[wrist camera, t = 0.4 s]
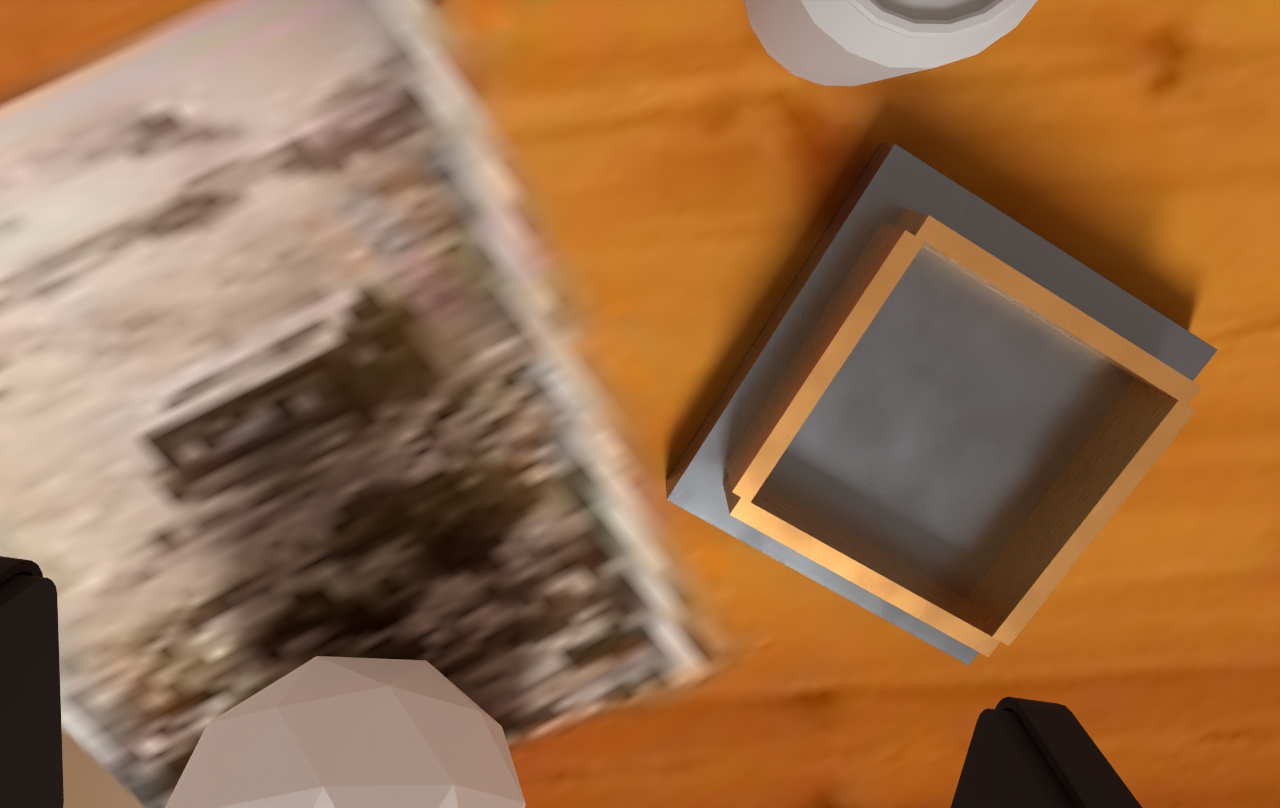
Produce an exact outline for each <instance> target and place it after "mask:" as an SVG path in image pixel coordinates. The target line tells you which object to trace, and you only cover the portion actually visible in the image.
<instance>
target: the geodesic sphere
mask: <svg viewBox="0 0 1280 808" xmlns="http://www.w3.org/2000/svg"><path fill="white" fill-rule="evenodd" d="M165 808H525V800H524V797H523V794H522V790H521V787H520V784H519V781H518V777H517V774H516V771H515V768H514V764H513V761H512V758H511V755H510V751H509V748H508V745H507V742H506V738H505V735H504V732H503V728H502V726H501V725H500V724H499V723H497V722H496V721H495V720H494V719H493V718H492V717H491V716H489V715H488V714H487V713H486V712H485V711H484V710H483V709H481V708H480V707H479V706H478V705H477V704H476V703H475V702H473V701H472V700H471V699H470V698H469V697H468V696H467V695H465V694H464V693H463V692H462V691H461V690H460V689H459V688H457V687H456V686H455V685H454V684H453V683H452V682H451V681H449V680H448V679H447V678H446V677H445V676H444V675H443V674H441V673H440V672H439V671H438V670H437V669H436V668H435V667H433V666H432V665H431V664H430V663H429V662H428V661H426V660H402V659H377V658H352V657H328V656H316V657H315V658H313V659H311V660H310V661H308V662H306V663H305V664H303V665H302V666H300V667H298V668H297V669H295V670H293V671H292V672H290V673H289V674H287V675H285V676H284V677H282V678H280V679H279V680H277V681H276V682H274V683H272V684H271V685H269V686H267V687H266V688H264V689H263V690H261V691H259V692H258V693H256V694H254V695H253V696H251V697H250V698H248V699H246V700H245V701H243V702H242V703H240V704H238V705H237V706H235V707H233V708H232V709H230V710H229V711H227V712H225V713H224V714H222V715H220V716H219V717H217V718H216V719H214V720H212V721H211V722H209V723H208V724H207V726H206V728H205V730H204V732H203V734H202V736H201V738H200V740H199V742H198V744H197V746H196V748H195V750H194V752H193V754H192V756H191V758H190V760H189V762H188V764H187V765H186V767H185V769H184V771H183V773H182V775H181V777H180V779H179V781H178V783H177V785H176V787H175V789H174V791H173V793H172V795H171V797H170V799H169V801H168V803H167V805H166V807H165Z"/></svg>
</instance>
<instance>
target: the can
mask: <svg viewBox="0 0 1280 808" xmlns="http://www.w3.org/2000/svg"><path fill="white" fill-rule="evenodd" d="M1036 2H1037V0H744V3H745V7H746V11H747V15H748V19H749V23H750V26H751V28H752V29H753V31H754V32H755V34H756V36H757V37H758V39H759V40H760V42H761V44H762V45H763V47H764V49H765V50H766V52H767V53H768V54H769V55H770V56H771V57H772V58H773V59H775V60H776V61H777V62H778V63H779V64H781V65H782V66H783V67H784V68H785V69H787V70H788V71H789V72H790V73H791V74H793V75H796V76H798V77H801V78H804V79H806V80H809V81H812V82H814V83H817V84H820V85H822V86H857V85H862V84H866V83H870V82H875V81H879V80H884V79H888V78H892V77H897V76H901V75H905V74H910V73H914V72H919V71H923V70H927V69H932V68H935V67H938V66H942V65H945V64H948V63H951V62H954V61H957V60H961V59H964V58H967V57H970V56H973V55H976V54H978V53H979V52H981V51H982V50H984V49H985V48H987V47H988V46H989V45H991V44H992V43H994V42H995V41H997V40H998V39H1000V38H1001V37H1002V36H1004V35H1005V34H1007V33H1008V32H1010V31H1011V30H1012V29H1014V28H1015V27H1016V26H1017V25H1018V24H1019V23H1020V21H1021V20H1022V19H1023V18H1024V16H1025V15H1026V14H1027V13H1028V12H1029V10H1030V9H1031V8H1032V7H1033V5H1034V4H1035V3H1036Z"/></svg>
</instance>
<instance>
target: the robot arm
mask: <svg viewBox="0 0 1280 808" xmlns="http://www.w3.org/2000/svg"><path fill="white" fill-rule="evenodd" d="M61 736H62V735H61V704H60V672H59V640H58V609H57V591H56V586H55V585H54V583H53V581H52V580H50V579H49V578H43V575H42V572H41V570H40V568H39V566H38V565H37V564H36V563H34V562H33V561H30V560H23V559H16V558H9V557H2V556H0V808H63V800H64V799H63V769H62V737H61ZM951 808H1142V807H1141V805H1140V804H1139V803H1138V801H1137V800H1136V799H1135V797H1134V796H1133V795H1132V793H1131V792H1130V791H1129V789H1128V788H1127V787H1126V785H1125V784H1124V782H1123V781H1122V780H1121V778H1120V777H1119V776H1118V774H1117V773H1116V772H1115V770H1114V769H1113V768H1112V766H1111V765H1110V764H1109V762H1108V761H1107V759H1106V758H1105V757H1104V755H1103V754H1102V753H1101V751H1100V750H1099V749H1098V747H1097V746H1096V745H1095V743H1094V742H1093V741H1092V739H1091V738H1090V736H1089V735H1088V734H1087V732H1086V731H1085V730H1084V728H1083V727H1082V726H1081V724H1080V723H1079V722H1078V720H1077V719H1076V718H1075V716H1074V715H1073V713H1072V712H1071V711H1070V710H1069V709H1068V708H1067V707H1066V706H1064V705H1061V704H1057V703H1049V702H1042V701H1035V700H1028V699H1021V698H1013V697H1006V698H1003V699H1002V700H1001V701H1000V702H999V703H998V704H997V706H996V708H995V709H985V710H983V712H982V713H981V714H980V716H979V718H978V721H977V723H976V727H975V730H974V733H973V736H972V740H971V743H970V746H969V750H968V753H967V756H966V759H965V763H964V766H963V769H962V772H961V776H960V779H959V782H958V786H957V789H956V792H955V795H954V799H953V802H952V805H951Z"/></svg>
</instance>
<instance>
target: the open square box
mask: <svg viewBox="0 0 1280 808" xmlns="http://www.w3.org/2000/svg"><path fill="white" fill-rule="evenodd" d="M1216 351H1217V349H1215V348H1214V347H1212V346H1211V345H1209V344H1208V343H1206V342H1205V341H1203V340H1201V339H1200V338H1198V337H1197V336H1195V335H1194V334H1192V333H1190V332H1189V331H1187V330H1186V329H1184V328H1183V327H1181V326H1179V325H1178V324H1176V323H1175V322H1173V321H1172V320H1170V319H1169V318H1167V317H1165V316H1164V315H1162V314H1161V313H1159V312H1158V311H1156V310H1154V309H1153V308H1151V307H1150V306H1148V305H1147V304H1145V303H1143V302H1142V301H1140V300H1139V299H1137V298H1136V297H1134V296H1133V295H1131V294H1129V293H1128V292H1126V291H1125V290H1123V289H1122V288H1120V287H1118V286H1117V285H1115V284H1114V283H1112V282H1111V281H1109V280H1108V279H1106V278H1104V277H1103V276H1101V275H1100V274H1098V273H1097V272H1095V271H1093V270H1092V269H1090V268H1089V267H1087V266H1086V265H1084V264H1082V263H1081V262H1079V261H1078V260H1076V259H1075V258H1073V257H1072V256H1070V255H1068V254H1067V253H1065V252H1064V251H1062V250H1061V249H1059V248H1057V247H1056V246H1054V245H1053V244H1051V243H1050V242H1048V241H1046V240H1045V239H1043V238H1042V237H1040V236H1039V235H1037V234H1036V233H1034V232H1032V231H1031V230H1029V229H1028V228H1026V227H1025V226H1023V225H1021V224H1020V223H1018V222H1017V221H1015V220H1014V219H1012V218H1010V217H1009V216H1007V215H1006V214H1004V213H1003V212H1001V211H1000V210H998V209H996V208H995V207H993V206H992V205H990V204H989V203H987V202H985V201H984V200H982V199H981V198H979V197H978V196H976V195H975V194H973V193H971V192H970V191H968V190H967V189H965V188H964V187H962V186H960V185H959V184H957V183H956V182H954V181H953V180H951V179H949V178H948V177H946V176H945V175H943V174H942V173H940V172H939V171H937V170H935V169H934V168H932V167H931V166H929V165H928V164H926V163H924V162H923V161H921V160H920V159H918V158H917V157H915V156H913V155H912V154H910V153H909V152H907V151H906V150H904V149H903V148H901V147H899V146H898V145H896V144H888V143H881V144H880V146H879V147H878V149H877V151H876V152H875V154H874V155H873V157H872V158H871V160H870V162H869V163H868V165H867V166H866V168H865V169H864V171H863V173H862V174H861V176H860V177H859V179H858V180H857V182H856V184H855V185H854V187H853V188H852V190H851V191H850V193H849V195H848V196H847V198H846V199H845V201H844V202H843V204H842V206H841V207H840V209H839V210H838V212H837V213H836V215H835V217H834V218H833V220H832V221H831V223H830V224H829V226H828V228H827V229H826V231H825V232H824V234H823V235H822V237H821V239H820V240H819V242H818V243H817V245H816V246H815V248H814V250H813V251H812V253H811V254H810V256H809V257H808V259H807V261H806V262H805V264H804V265H803V267H802V268H801V270H800V272H799V273H798V275H797V276H796V278H795V279H794V281H793V283H792V284H791V286H790V287H789V289H788V290H787V292H786V294H785V295H784V297H783V298H782V300H781V301H780V303H779V305H778V306H777V308H776V309H775V311H774V312H773V314H772V315H771V317H770V319H769V320H768V322H767V323H766V325H765V326H764V328H763V330H762V331H761V333H760V334H759V336H758V337H757V339H756V341H755V342H754V344H753V345H752V347H751V348H750V350H749V352H748V353H747V355H746V356H745V358H744V359H743V361H742V363H741V364H740V366H739V367H738V369H737V370H736V372H735V374H734V375H733V377H732V378H731V380H730V381H729V383H728V385H727V386H726V388H725V389H724V391H723V392H722V394H721V396H720V397H719V399H718V400H717V402H716V403H715V405H714V407H713V408H712V410H711V411H710V413H709V414H708V416H707V418H706V419H705V421H704V422H703V424H702V425H701V427H700V429H699V430H698V432H697V433H696V435H695V436H694V438H693V440H692V441H691V443H690V444H689V446H688V447H687V449H686V451H685V452H684V454H683V455H682V457H681V458H680V460H679V462H678V463H677V465H676V466H675V468H674V469H673V471H672V473H671V474H670V476H669V477H668V479H667V480H666V493H667V500H668V501H670V502H672V503H674V504H676V505H677V506H679V507H681V508H683V509H685V510H686V511H688V512H690V513H692V514H694V515H696V516H697V517H699V518H701V519H703V520H705V521H707V522H708V523H710V524H712V525H714V526H716V527H717V528H719V529H721V530H723V531H725V532H727V533H728V534H730V535H732V536H734V537H736V538H737V539H739V540H741V541H743V542H745V543H747V544H748V545H750V546H752V547H754V548H756V549H758V550H759V551H761V552H763V553H765V554H767V555H768V556H770V557H772V558H774V559H776V560H778V561H779V562H781V563H783V564H785V565H787V566H789V567H790V568H792V569H794V570H796V571H798V572H799V573H801V574H803V575H805V576H807V577H809V578H810V579H812V580H814V581H816V582H818V583H820V584H821V585H823V586H825V587H827V588H829V589H830V590H832V591H834V592H836V593H838V594H840V595H841V596H843V597H845V598H847V599H849V600H851V601H852V602H854V603H856V604H858V605H860V606H861V607H863V608H865V609H867V610H869V611H871V612H872V613H874V614H876V615H878V616H880V617H882V618H883V619H885V620H887V621H889V622H891V623H892V624H894V625H896V626H898V627H900V628H902V629H903V630H905V631H907V632H909V633H911V634H912V635H914V636H916V637H918V638H920V639H922V640H923V641H925V642H927V643H929V644H931V645H933V646H934V647H936V648H938V649H940V650H942V651H943V652H945V653H947V654H949V655H951V656H953V657H954V658H956V659H958V660H960V661H962V662H964V663H965V664H967V665H970V663H971V662H972V661H973V660H974V658H975V657H976V656H977V654H978V653H981V654H983V655H985V656H987V657H989V655H990V654H991V653H992V652H993V650H994V649H995V648H996V647H997V645H998V644H999V643H1000V642H1002V643H1004V644H1006V645H1008V646H1009V645H1010V644H1011V643H1012V642H1013V640H1014V639H1015V638H1016V637H1017V635H1018V634H1019V633H1020V632H1021V630H1022V629H1023V628H1024V627H1025V625H1026V624H1027V623H1028V622H1029V620H1030V619H1031V618H1032V617H1033V615H1034V614H1035V613H1036V611H1037V610H1038V609H1039V608H1040V606H1041V605H1042V604H1043V603H1044V601H1045V600H1046V599H1047V598H1048V596H1049V595H1050V594H1051V593H1052V591H1053V590H1054V589H1055V588H1056V586H1057V585H1058V584H1059V583H1060V581H1061V580H1062V579H1063V578H1064V576H1065V575H1066V574H1067V573H1068V571H1069V570H1070V569H1071V568H1072V566H1073V565H1074V564H1075V563H1076V561H1077V560H1078V559H1079V558H1080V556H1081V555H1082V554H1083V552H1084V551H1085V550H1086V549H1087V547H1088V546H1089V545H1090V544H1091V542H1092V541H1093V540H1094V539H1095V537H1096V536H1097V535H1098V534H1099V532H1100V531H1101V530H1102V529H1103V527H1104V526H1105V525H1106V524H1107V522H1108V521H1109V520H1110V519H1111V517H1112V516H1113V515H1114V514H1115V512H1116V511H1117V510H1118V509H1119V507H1120V506H1121V505H1122V504H1123V502H1124V501H1125V500H1126V499H1127V497H1128V496H1129V495H1130V493H1131V492H1132V491H1133V490H1134V488H1135V487H1136V486H1137V485H1138V483H1139V482H1140V481H1141V480H1142V478H1143V477H1144V476H1145V475H1146V473H1147V472H1148V471H1149V470H1150V468H1151V467H1152V466H1153V465H1154V463H1155V462H1156V461H1157V460H1158V458H1159V457H1160V456H1161V455H1162V453H1163V452H1164V451H1165V450H1166V448H1167V447H1168V446H1169V445H1170V443H1171V442H1172V441H1173V440H1174V438H1175V437H1176V436H1177V434H1178V433H1179V432H1180V431H1181V429H1182V428H1183V427H1184V426H1185V424H1186V423H1187V422H1188V421H1189V419H1190V418H1191V417H1192V416H1193V414H1194V413H1195V412H1196V411H1195V410H1193V409H1192V408H1190V407H1188V404H1189V403H1190V402H1191V400H1192V399H1193V398H1194V397H1195V395H1196V394H1197V393H1198V392H1199V390H1200V389H1201V388H1202V387H1201V386H1199V385H1198V384H1196V383H1195V382H1193V380H1194V379H1195V378H1196V376H1197V375H1198V374H1199V373H1200V371H1201V370H1202V369H1203V368H1204V366H1205V365H1206V364H1207V362H1208V361H1209V360H1210V359H1211V357H1212V356H1213V355H1214V354H1215V352H1216Z"/></svg>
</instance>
